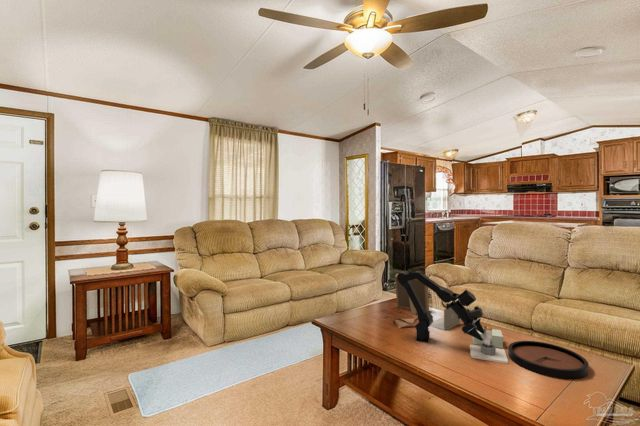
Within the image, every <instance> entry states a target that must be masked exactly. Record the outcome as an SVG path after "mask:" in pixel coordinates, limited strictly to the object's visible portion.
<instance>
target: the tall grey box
mask: <svg viewBox="0 0 640 426" xmlns="http://www.w3.org/2000/svg"><path fill="white" fill-rule="evenodd" d="M398 274H399V273H395V275H394V283H395V294H396V305H397V307H396V308H402V309H407V310H410V314H412V315H415V316H417V311H416V309H415V307H414V305H413V303H412V301H411V299H410V297H409V295H408V293H407V291H406V290H405V288H404V287H403V286H401V284H400V283H399V282H398V280H397V275H398ZM412 285H413V287H414V289H415V291H416V293H417V295H418V297H419V299H420V301H421V303H422V305H423V307H424V309H425V310H426V311H430V304H429V303H430V301H429V288H428V287H427V286H426V285H424V284H423V283H421V282H420V281H419V280H417V279H414V280H412Z"/></svg>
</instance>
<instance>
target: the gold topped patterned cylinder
mask: <svg viewBox="0 0 640 426" xmlns="http://www.w3.org/2000/svg"><path fill="white" fill-rule="evenodd" d="M483 328H484V346H485V347H489V348H492V329H493V326H491V325H484V327H483Z"/></svg>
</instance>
